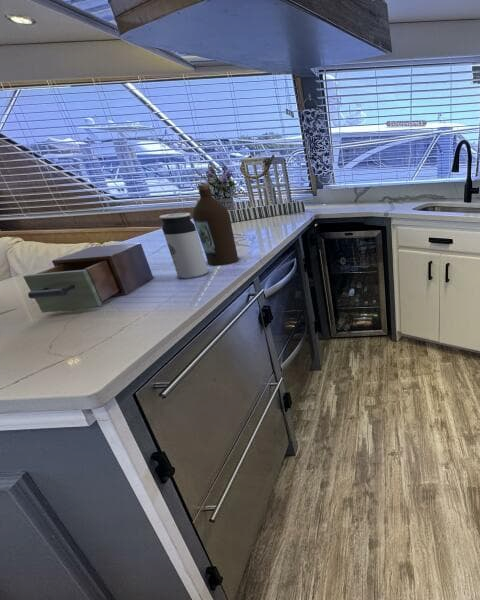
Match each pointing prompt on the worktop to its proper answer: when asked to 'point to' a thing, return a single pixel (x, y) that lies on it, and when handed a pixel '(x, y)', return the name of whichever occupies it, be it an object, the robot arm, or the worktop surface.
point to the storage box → (117, 263)
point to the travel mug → (184, 245)
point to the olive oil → (214, 229)
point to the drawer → (73, 285)
